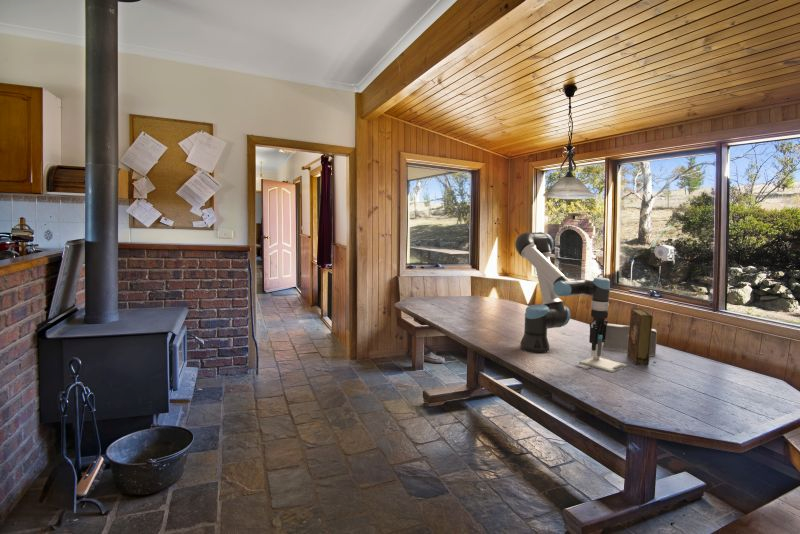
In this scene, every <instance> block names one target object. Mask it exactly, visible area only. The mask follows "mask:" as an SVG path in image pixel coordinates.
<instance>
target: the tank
mask: <svg viewBox="0 0 800 534" xmlns="http://www.w3.org/2000/svg"><path fill="white" fill-rule="evenodd" d="M629 328H630V325H624V324H615V323H608V322H607V327H606V338H605V340H604V341H605V343H603V342H602V343H603V344H602V349H604V350H609V351H615V350H616V351H615V352H622V351H624V352H623V353H627V352H628V340H629ZM657 339H658V332H657V329H655V328H652V332H651V344H650V355H651V356H650V357H654V356H656V354H657V353H656V352H657Z"/></svg>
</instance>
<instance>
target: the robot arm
mask: <svg viewBox="0 0 800 534" xmlns="http://www.w3.org/2000/svg"><path fill="white" fill-rule="evenodd" d="M554 244H555V243H554V240H553V237H552V236H551V235H550V234H548V233H546V232H542V231H540V232H523V233H520V234H518V236H517V237H516V239H515V243H514V246H515V250H516V252H517V253H518V254H519V256H521V257H522V258H523V259H525V260H527V261H528V262H529V263H530V264H531V265H532V266H533V267H534V268H535V272H536V275H537V281H538V285H539V288H540V293H541V294H540V295H541V298H542V302H541V304H531V305H528V306H527V307H526V308H525V313H524V332H523V336H522V339H521V341H520V343H519V348H520V349H521V350H522V351H525V352H529V353H535V354H536V353H537V354H544V353H549V352H550V343H549V340H548V329H554V328H555V329H557V328H561V327H565V326H566V325H568V324H569V322H570V320H571V312H570V309H569V308H568V306H567V305H564V301H563V300H562V299H560V297H569V296H570V297H571V296H579V295H580V296H581V295H586V296H590V297H591V309H590V317H592V318H593V319H592V323H589V337H588V338H589V341H588V342H589V344H591V350H590V351H591V353H590V356H591V357H597V350H598V344H597V340H598V335H602V345H603V343H605V341H604V340H605V338H606V327H607V324H608V320H605V319H607V318H608V315H609V306H610V304H609V302H610V301H609V299H610V298H609V297H610V290H611V280H610V279H609V278H606V277H594V278H593V280H590V279H584V278H574V279H569V278H568V277H566V276H565V274H563V273H562V272H561V271H560V270H559V268H557V267H556V266H555V265H554V264H553V263H552V262H551V258H550V257H551V255H552V250H553V249H554V248H553V247H554V246H555V245H554ZM602 354H603V347H602V348H601V356H603V355H602Z"/></svg>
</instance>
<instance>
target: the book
mask: <svg viewBox="0 0 800 534" xmlns="http://www.w3.org/2000/svg"><path fill="white" fill-rule="evenodd" d="M653 317H654V315H653V314H651V313H650V312H648V311H646V310H645V309H643V308H634V307H633V308H630V317H629V326H630V328H629V334H628V335H629V340H628V352H626V353H627V355H626V356H627V358H629V360H631V362H632V363H634V364H635V365H643V366H649V364H650V356H649V355H650V344H651V332H652V329H653Z"/></svg>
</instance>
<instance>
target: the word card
mask: <svg viewBox="0 0 800 534" xmlns="http://www.w3.org/2000/svg"><path fill="white" fill-rule="evenodd" d="M575 367H578V368H582V369H584V368H585V369H586V370H589V368H590V369H592V368H593V367H591V366H588V365H584V364H581V363H578V364H575Z"/></svg>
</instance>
